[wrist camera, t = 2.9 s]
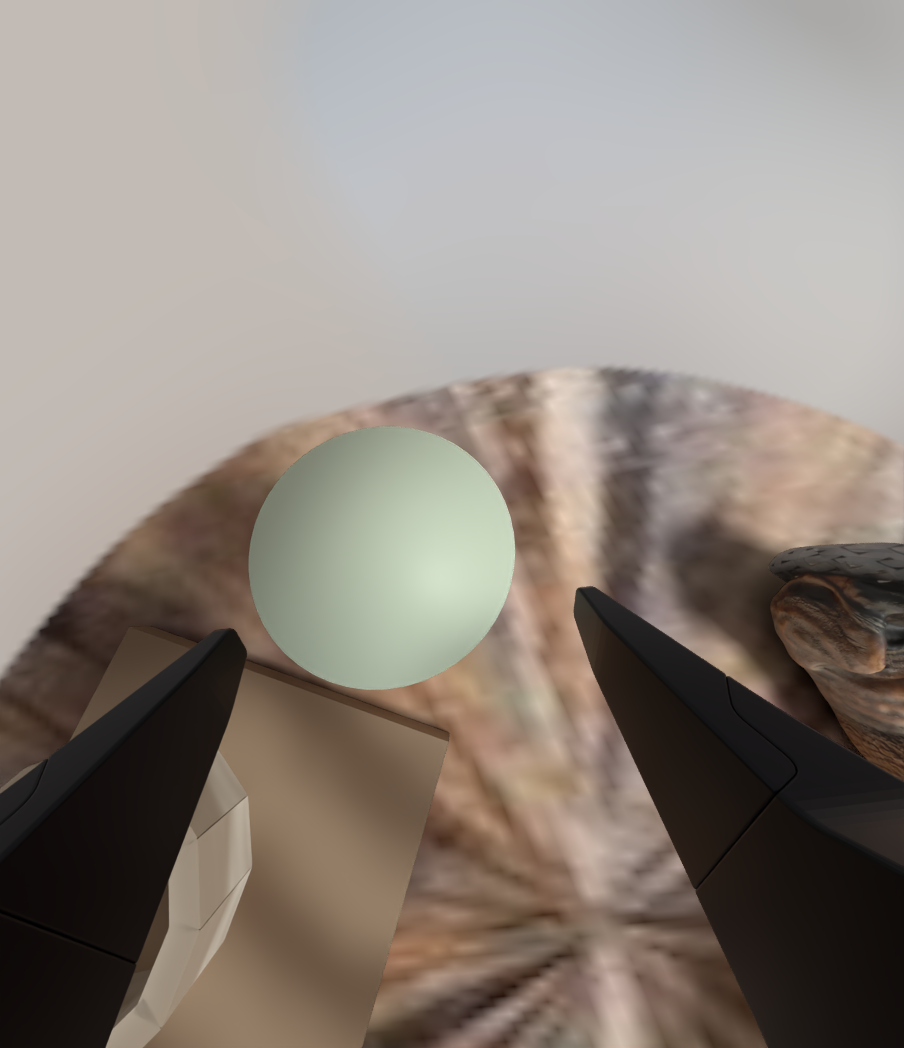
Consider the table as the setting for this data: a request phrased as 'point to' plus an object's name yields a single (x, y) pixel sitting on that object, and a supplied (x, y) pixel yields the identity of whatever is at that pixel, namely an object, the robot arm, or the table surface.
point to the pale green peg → (381, 558)
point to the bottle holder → (278, 864)
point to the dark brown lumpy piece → (850, 637)
